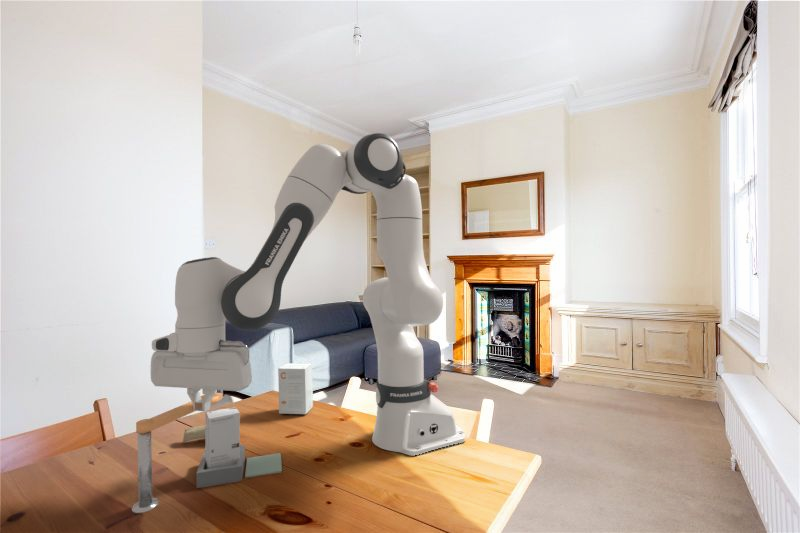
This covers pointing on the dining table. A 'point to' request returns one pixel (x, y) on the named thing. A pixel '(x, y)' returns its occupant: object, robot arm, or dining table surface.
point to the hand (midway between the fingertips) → (201, 410)
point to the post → (145, 475)
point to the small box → (295, 388)
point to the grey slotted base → (220, 472)
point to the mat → (263, 465)
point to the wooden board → (171, 415)
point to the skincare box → (222, 438)
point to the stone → (194, 433)
